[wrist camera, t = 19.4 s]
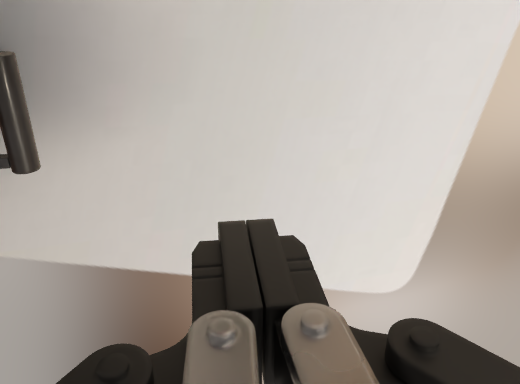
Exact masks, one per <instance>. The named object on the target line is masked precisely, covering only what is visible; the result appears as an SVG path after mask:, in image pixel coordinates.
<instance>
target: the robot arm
mask: <svg viewBox="0 0 520 384" xmlns="http://www.w3.org/2000/svg"><path fill="white" fill-rule="evenodd" d="M218 238H219V240H214V241H200V242H199V243H198V245H197V246H196V248H195V249H194V251H193V252H192V325H191V327H190V329H189V332H188V333H187V335H186V336H185V337H184V338H183V339H182V340H181V341H180V342H178V343H177V344H176V345H174V346H172V347H170V348H168V349H166V350H163V351H161V352H158V353H155V354H152V355H148V353H147V352H146V351H145V350H143V349H142V348H141V347H138V346H135V345H131V344H115V345H110V346H107V347H104V348H102V349H100V350H97V351H96V352H94V353H92V354H91V355H90V356H88V357H87V358H86V359H85V360H84V361H82V362H81V363H80V364H79V365H78V366H77V367H75V368H74V369H73V370H72V371H70V372H69V373H68V374H67V375H66V376H64V377H63V378H62V379H61V380H60V381H58V382H57V383H56V384H262V374H263V380H264V384H520V367H518V366H516V365H514V364H512V363H510V362H508V361H507V360H504V359H503V358H501V357H499V356H497V355H495V354H493V353H491V352H489V351H487V350H485V349H484V348H482V347H480V346H478V345H476V344H474V343H472V342H470V341H468V340H467V339H465V338H463V337H461V336H459V335H457V334H455V333H453V332H451V331H449V330H447V329H446V328H444V327H442V326H440V325H438V324H436V323H433V322H430V321H428V320H423V319H417V318H409V319H404V320H400V321H398V322H396V323H395V324H393V325H392V327H391V328H390V330H389V333H388V334H381V333H375V332H369V331H364V330H359V329H356V328H353V327H351V326H349V325H348V324H347V322H346V321H345V319H344V318H343V316H342V315H341V314H340V313H339V312H337V311H336V310H334V309H333V308H331V307H329V304H328V302H327V299H326V297H325V294H324V292H323V289H322V287H321V284H320V282H319V279H318V277H317V274H316V272H315V270H314V267H313V264H312V262H311V260H310V257H309V254H308V252H307V249H306V247H305V245H304V244H303V243H302V242H300V241H299V240H298V239H297V238H296V237H295V236H293V235H289V236H279V235H278V232H277V229H276V226H275V223H274V220H273V219H258V220H246V224H245V221H244V220H243V221H227V222H218Z"/></svg>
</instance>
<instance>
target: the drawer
mask: <svg viewBox="0 0 520 384" xmlns="http://www.w3.org/2000/svg"><path fill="white" fill-rule="evenodd" d="M0 127H1V131H2V135H3V139H4V142H5V146H6V150H7V154H0V169H2V168H10V167H11V169H12V172H13V173H15V174H28V173H32V172H35V171H37V170H39V169H40V167H41V165H40V161H39V157H38V152H37V148H36V143H35V139H34V135H33V130H32V126H31V122H30V117H29V113H28V108H27V104H26V100H25V95H24V91H23V86H22V82H21V78H20V73H19V69H18V65H17V60H16V56H15V53H14V52H9V51H0Z"/></svg>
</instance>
